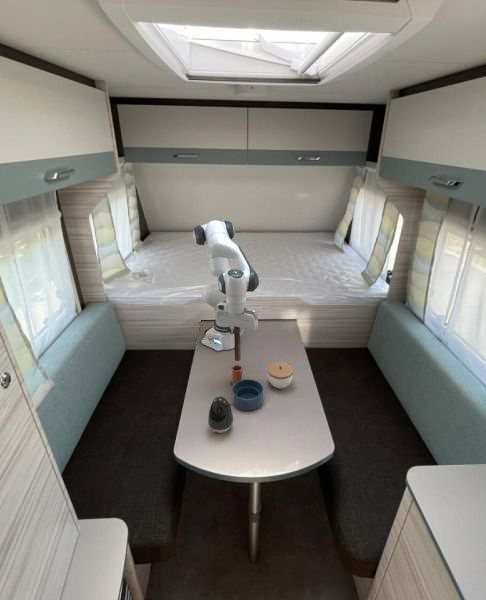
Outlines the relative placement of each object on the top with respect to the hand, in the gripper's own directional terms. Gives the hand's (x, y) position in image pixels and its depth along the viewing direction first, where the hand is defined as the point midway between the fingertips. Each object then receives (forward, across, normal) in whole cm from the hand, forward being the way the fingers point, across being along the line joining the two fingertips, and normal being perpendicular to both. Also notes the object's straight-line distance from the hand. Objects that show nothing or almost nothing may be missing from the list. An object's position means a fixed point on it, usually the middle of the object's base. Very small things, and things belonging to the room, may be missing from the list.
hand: (237, 334), depth 149 cm
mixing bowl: (+28, -10, +8) cm, 31 cm away
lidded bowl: (+29, -18, -10) cm, 35 cm away
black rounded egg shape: (+29, -8, +27) cm, 40 cm away
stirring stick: (+14, 0, 0) cm, 14 cm away
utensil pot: (+28, +1, -1) cm, 29 cm away
